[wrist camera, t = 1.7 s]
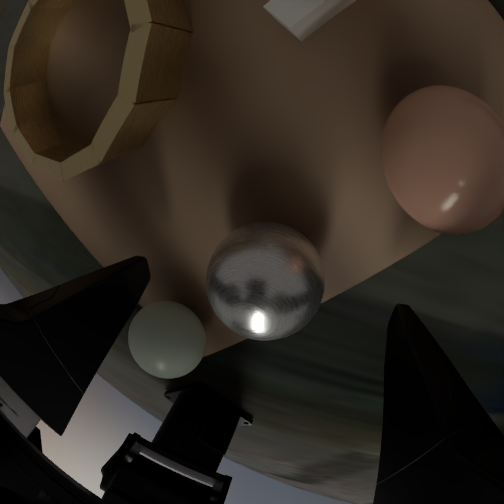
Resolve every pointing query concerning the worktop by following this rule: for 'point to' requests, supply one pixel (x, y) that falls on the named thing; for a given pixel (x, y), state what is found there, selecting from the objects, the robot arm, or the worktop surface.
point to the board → (260, 132)
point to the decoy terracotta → (445, 159)
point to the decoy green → (167, 339)
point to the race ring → (129, 93)
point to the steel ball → (265, 281)
